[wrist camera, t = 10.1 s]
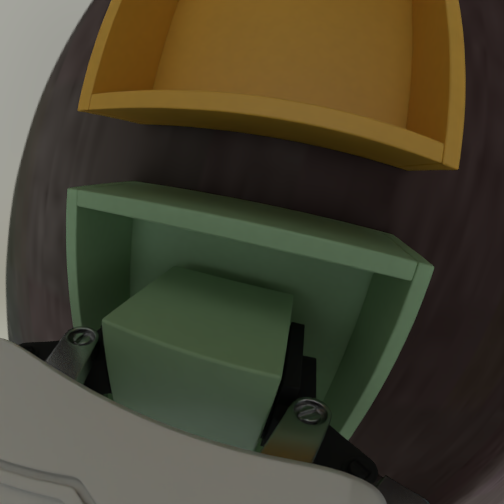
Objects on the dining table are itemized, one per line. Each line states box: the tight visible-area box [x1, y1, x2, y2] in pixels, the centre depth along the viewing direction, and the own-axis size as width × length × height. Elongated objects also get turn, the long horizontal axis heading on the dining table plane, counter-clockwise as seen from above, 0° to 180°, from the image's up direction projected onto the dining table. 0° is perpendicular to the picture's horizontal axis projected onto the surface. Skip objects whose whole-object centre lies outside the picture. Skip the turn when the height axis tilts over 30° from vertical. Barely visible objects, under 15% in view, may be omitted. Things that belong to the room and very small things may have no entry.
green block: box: [102, 266, 294, 452], centre depth 10 cm, size 5×5×5 cm
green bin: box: [66, 181, 434, 453], centre depth 11 cm, size 12×11×4 cm
